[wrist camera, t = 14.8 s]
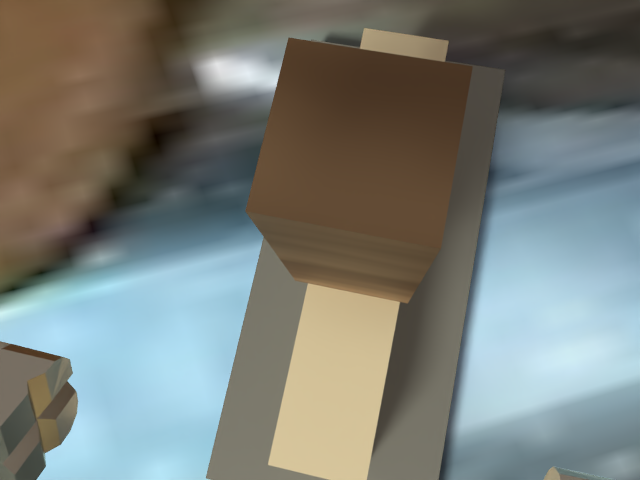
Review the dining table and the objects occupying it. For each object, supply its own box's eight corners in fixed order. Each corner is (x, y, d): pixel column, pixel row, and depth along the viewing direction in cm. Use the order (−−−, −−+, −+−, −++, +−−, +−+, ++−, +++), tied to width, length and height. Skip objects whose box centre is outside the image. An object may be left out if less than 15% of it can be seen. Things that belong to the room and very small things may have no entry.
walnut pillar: (407, 303, 23) (440, 248, 13) (295, 280, 23) (245, 211, 13) (427, 194, 23) (472, 66, 14) (319, 174, 24) (288, 37, 14)
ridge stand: (425, 525, 27) (445, 571, 20) (213, 473, 28) (170, 501, 22) (498, 84, 31) (532, 9, 25) (313, 54, 32) (301, -24, 26)
